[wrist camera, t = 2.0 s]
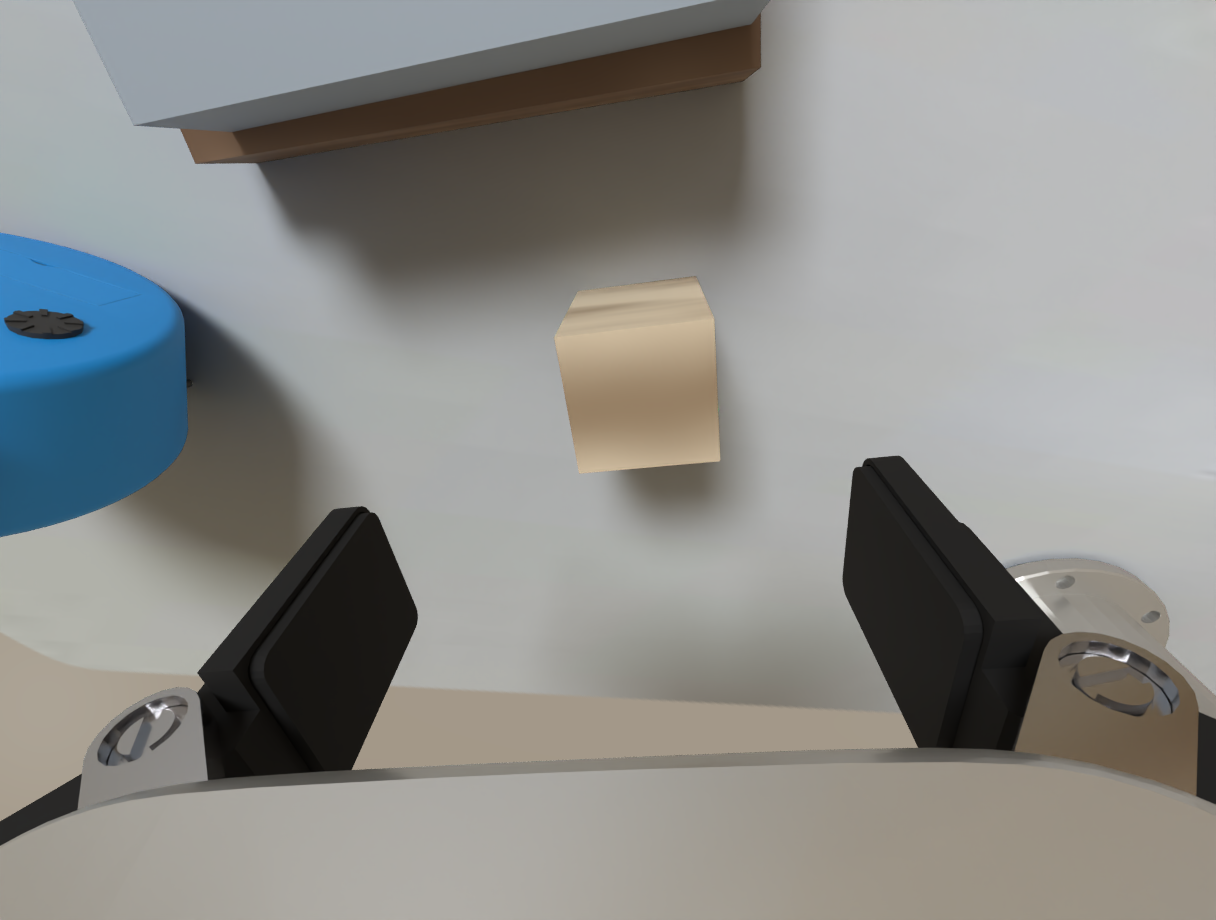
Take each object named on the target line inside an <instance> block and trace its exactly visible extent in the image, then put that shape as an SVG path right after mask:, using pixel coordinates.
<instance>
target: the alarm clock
mask: <svg viewBox="0 0 1216 920" xmlns="http://www.w3.org/2000/svg"><path fill="white" fill-rule="evenodd" d="M190 386H192V381H191V380H188V379H186V354H185V325H184V318H183V315H182V312H181V309H180V308H179V306H178V305H177V303H176V302H175V301H174V300H173V299H172V298H171V296H170V295H169V294H168V293H167V292H165V291H164V290H163V289H162V288H161V287H159V286H158V285H156V284H155V283H153V282H152V281H150V280H148V279H147V278H145V277H143V276H141V275H139V274H137V273H135V272H133V271H131V270H129V269H127V268H125V267H123V266H120V265H118V264H115V263H113V262H110V261H108V260H105V259H102V258H99V257H97V256H93V255H90V254H87V253H84V252H81V251H77V250H74V249H71V248H67V247H63V246H59V245H55V244H52V243H48V242H43V241H39V240H34V239H30V238H25V237H20V236H15V235H10V234H5V233H0V537H3V536H8V535H13V534H17V533H22V532H27V531H31V530H35V529H39V528H43V527H47V526H51V525H54V524H57V523H61V522H64V521H67V520H70V519H74V518H77V517H79V516H82V515H85V514H88V513H91V512H93V511H96V510H98V509H101V508H103V507H106V506H108V505H110V504H113V503H115V502H117V501H119V500H121V499H123V498H125V497H127V496H129V495H131V494H132V493H134V492H136V491H138V490H139V489H141V488H143V487H144V486H146V485H147V484H148V483H150V482H151V481H153V480H154V479H155V478H157V477H158V476H159V475H160V474H161V473H162V472H164V471H165V470H166V469H167V468H168V467H169V466H170V465H171V464H172V463H173V462H174V460H175V459H176V458H177V457H178V455H179V454H180V452H181V451H182V449H183V446H184V444H185V441H186V437H187V432H188V413H187V387H190Z"/></svg>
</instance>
